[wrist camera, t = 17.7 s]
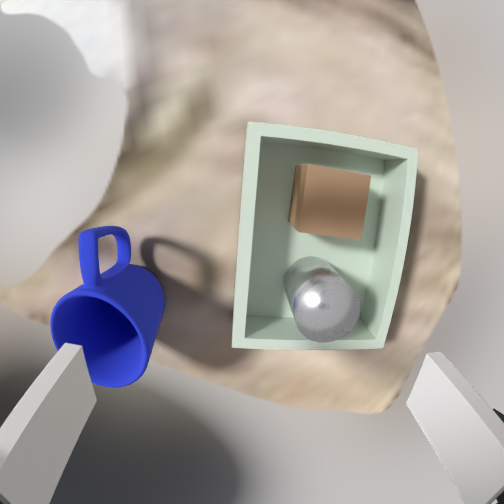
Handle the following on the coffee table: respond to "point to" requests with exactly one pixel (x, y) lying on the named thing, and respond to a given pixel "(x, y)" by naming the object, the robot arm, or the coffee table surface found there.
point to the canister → (320, 300)
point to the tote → (325, 247)
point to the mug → (110, 312)
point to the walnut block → (329, 201)
